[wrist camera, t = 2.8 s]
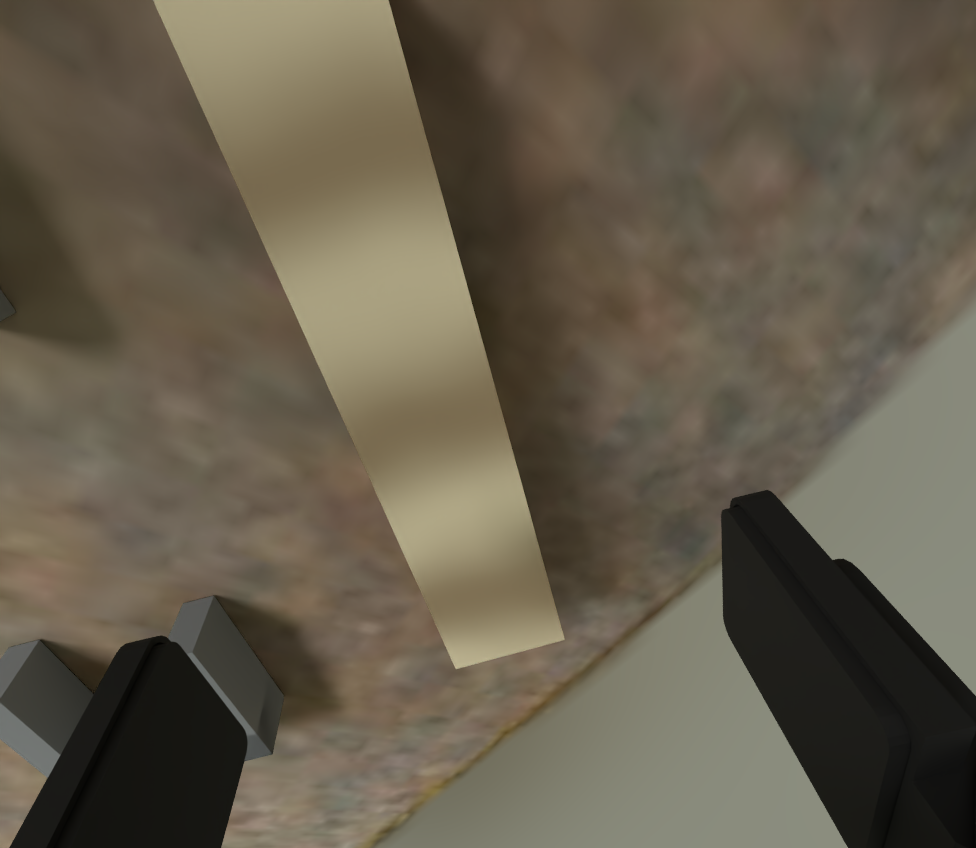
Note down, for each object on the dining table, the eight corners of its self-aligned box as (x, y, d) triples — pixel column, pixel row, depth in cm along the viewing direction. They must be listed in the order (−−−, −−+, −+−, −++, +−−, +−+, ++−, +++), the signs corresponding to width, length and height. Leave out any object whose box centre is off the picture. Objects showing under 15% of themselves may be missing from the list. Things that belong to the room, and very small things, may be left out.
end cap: (8, 647, 21) (-36, 709, 19) (213, 595, 21) (192, 652, 19) (106, 741, 25) (77, 802, 23) (284, 696, 25) (272, 754, 23)
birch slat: (205, 4, 13) (144, -21, 10) (374, -47, 13) (364, -87, 10) (449, 594, 23) (455, 669, 20) (544, 568, 23) (564, 640, 20)
